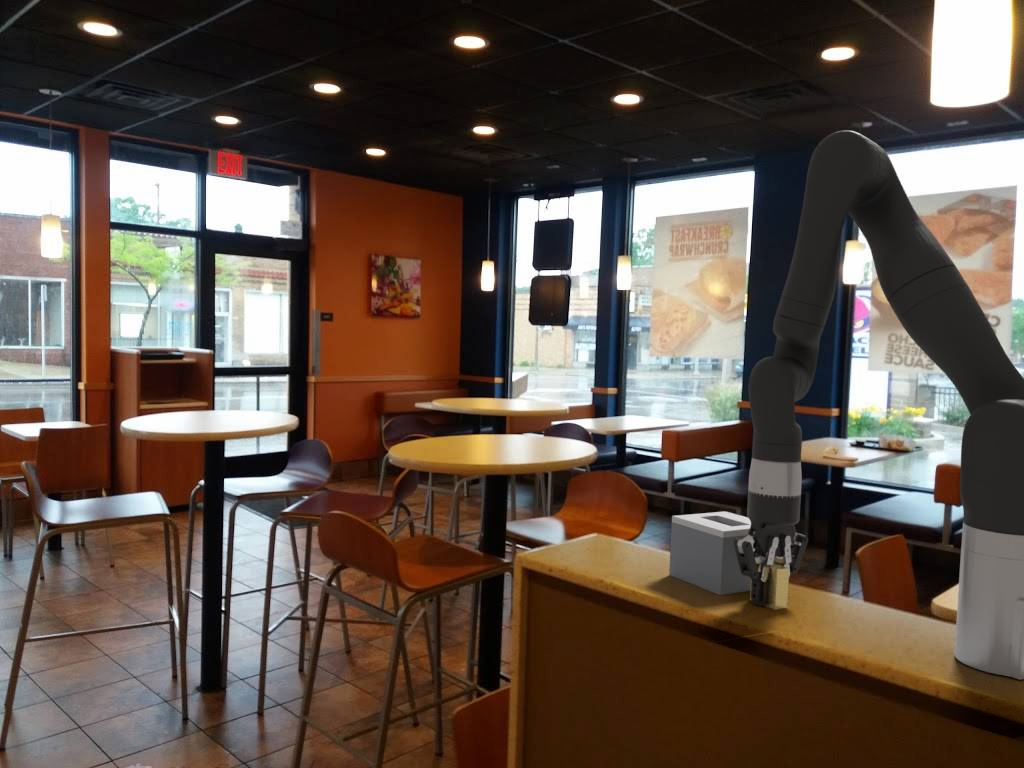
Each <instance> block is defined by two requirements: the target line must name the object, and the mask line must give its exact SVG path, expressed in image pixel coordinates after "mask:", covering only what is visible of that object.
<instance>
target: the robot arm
mask: <svg viewBox="0 0 1024 768" xmlns="http://www.w3.org/2000/svg"><path fill="white" fill-rule="evenodd" d="M895 169H896V168H895V167H894V165H893V163H892V160H891V159H890V157H889V155H888V154H887V152H886V151H885V149H884V148H883V147H881V145H878V143H876V142H874V141H873V140H871V139H870V138H868V137H866V136H865V135H863V134H862V133H859V132H856V131H854V130H839V131H836V132H832V133H831V134H829V135H827V136H826V137H824V138H823V139H822V140H821V141H820V142H819V143H818V144H817V146H816V147H815V148H814V150H813V152H812V154H811V158H810V160H809V165H808V170H807V176H806V181H805V188H804V189H805V190H804V197H803V203H802V208H801V209H802V210H801V215H800V219H799V225H798V232H797V237H796V241H795V246H794V251H793V254H792V255H793V256H792V259H791V263H790V266H789V270H788V274H787V278H786V281H785V285H784V288H783V290H782V293H781V296H780V300H779V302H778V307H777V309H776V312H775V313H776V314H775V316H774V319H773V325H772V331H773V334H774V335H775V336H776V341H775V345H774V351H773V355H772V356H767V357H764V358H761V360H759V361H757V362H756V364H754V366H753V368H752V369H751V373H750V374H749V375H750V376H749V378H748V379H749V380H748V399H749V406H750V416H751V421H752V426H753V435H752V450H751V463H750V468H749V474H748V493H747V510H746V512H747V513H746V515H747V516H746V517H748V518H749V519H750V521H751V526H750V529H749V531H748V536H746V537H745V538H743V539H742V540H741V539H735V540H734V547H735V551H736V555H737V559H738V563H739V567H740V570H741V574H743V575H745V576H748V577H750V578H751V580H752V582H751V600H752V601H751V600H750V601H751V602H752V603H753V604H754V605H757V606H759V607H766V606H765V605H766V599H767V582H766V580H767V577H768V572H769V568H770V567H771V566H772V565H773V563H775V564H778V565H781V566H785V567H788V568H789V578H790V577H791V575H792V574H797V573H798V572H799V570H800V567H801V563H802V560H803V557H804V554H805V551H806V549H807V546H808V542H809V537H808V535H804V534H802V533H799V532H797V531H796V527H795V525H797V524H798V523H799V522H800V517H801V501H802V500H801V499H802V498H801V497H802V483H803V482H802V479H803V477H802V462H801V461H802V447H803V431H802V427H801V425H800V424H798V423H797V422H796V410H795V409H796V408H795V407H796V406H795V403H796V402H798V401H799V400H802V399H803V398H804V397H805V396H806V394H808V392H809V390H810V388H811V387H812V384H813V381H814V378H815V374H816V369H817V363H818V357H819V350H820V339H821V336H822V334H823V331H824V329H825V325H826V323H827V320H828V317H829V314H830V311H831V310H830V309H831V306H832V303H833V301H834V297H835V293H836V288H837V287H836V286H837V281H838V280H837V279H838V266H839V265H838V264H839V251H840V245H841V244H840V243H841V237H842V234H843V228H844V225H845V222H846V219H847V217H848V215H849V216H850V218H851V219H852V221H853V222H854V223H855V225H856V226H857V228H858V229H859V231H860V232H861V233H862V235H863V237H864V238H865V240H866V242H867V244H868V246H869V249H870V253H871V256H872V259H873V265H874V268H875V273H876V276H877V279H878V283H879V286H880V288H881V290H882V293H883V295H884V297H885V299H886V301H887V303H888V305H889V306H890V307H891V309H892V310H893V312H894V314H895V316H896V317H897V318H896V319H898V321H899V322H900V324H901V325H902V327H903V328H904V330H905V332H906V333H907V334H908V336H909V337H910V338H911V339H912V340H913V342H914V343H915V344H916V345H917V346H918V347H919V349H921V351H922V352H923V353H924V354H925V355H926V356H927V357H928V358H929V359H930V360H931V361H932V362H933V363H934V364H935V365H936V366H937V367H938V368H939V369H940V371H942V372H943V374H944V375H945V376H947V378H948V379H949V381H951V383H952V384H953V386H954V387H955V389H956V391H957V392H958V394H959V395H960V397H961V399H962V401H963V403H964V405H965V407H966V409H967V410H968V413H969V414H970V415H969V417H968V418H967V420H966V421H965V424H964V427H963V431H962V436H961V437H962V438H961V447H960V473H959V474H960V476H959V481H960V482H959V495H960V501H961V505H962V511H963V517H962V534H961V547H960V563H959V578H958V590H957V591H958V593H957V605H956V607H957V610H956V621H955V622H956V623H955V625H956V626H955V627H956V628H955V637H954V643H955V644H954V645H955V646H954V657H955V658H956V659H957V660H958V661H959V662H960V663H962V664H964V665H967V666H969V667H971V668H973V669H976V670H979V671H983V672H985V673H990V674H994V675H999V676H1000V675H1001V676H1004V677H1005V676H1006V677H1010V678H1014V679H1017V680H1024V377H1023V375H1022V374H1021V373H1020V372H1019V370H1018V369H1017V368H1016V367H1015V364H1014V363H1013V362H1012V361H1011V359H1010V358H1009V356H1008V355H1007V353H1006V351H1005V349H1004V348H1003V346H1002V344H1001V342H1000V340H999V338H998V336H997V334H996V332H995V330H994V329H993V327H992V325H991V323H990V321H989V320H988V318H987V316H986V314H985V312H984V311H983V309H982V307H981V305H980V304H979V302H978V300H977V299H976V297H975V295H974V293H973V291H972V290H971V288H970V286H969V285H968V283H967V282H966V280H965V278H964V276H962V275H963V274H961V271H960V270H959V268H958V267H957V266H956V264H955V263H954V261H953V260H952V258H951V257H950V256H949V254H948V253H947V252H946V250H945V249H944V248H943V245H941V242H939V240H938V239H937V238H936V236H935V235H934V233H933V232H932V231H931V229H930V228H928V226H927V225H926V223H925V222H924V221H923V220H922V219H921V217H920V215H918V214H917V211H916V210H915V209H914V206H913V205H912V202H911V201H910V199H909V197H908V195H907V193H906V190H905V189H904V187H903V184H902V183H901V180H900V177H899V176H898V174H897V171H896V170H895ZM759 556H761V557H765V559H761V558H760V557H759ZM792 558H793V559H792ZM760 564H761V571H760V572H759V571H758V569H759V565H760ZM748 567H749V568H748Z"/></svg>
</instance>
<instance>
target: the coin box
mask: <svg viewBox="0 0 1024 768" xmlns="http://www.w3.org/2000/svg"><path fill="white" fill-rule="evenodd" d="M750 526H751V521H750V519H749V518H748V516H744V515H740V514H737V513H733V512H730V511H716V512H705V513H702V512H701V513H692V514H678V515H677V514H676V515H672V516H671V531H670V547H669V548H670V549H669V550H670V552H669V570H668V571H669V573H668V575H669V576H671V577H673V578H675V579H678V580H681V581H683V582H686V583H688V584H690V585H692V586H696V587H698V588H701V589H703V590H706V591H708V592H711V593H714V594H716V595H719V596H726V595H730V594H738V593H744V592H750V588H751V578H750V577H748V576H745V575H743V574H741V570H740V567H739V563H738V559H737V555H736V551H735V547H734V540H735V539H741V540H742V539H743V538H745V537H746V536H748V531H749V529H750ZM759 557H760V558H761V559H765V557H761V556H759ZM748 568H749V567H748Z"/></svg>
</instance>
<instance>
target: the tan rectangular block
mask: <svg viewBox="0 0 1024 768" xmlns="http://www.w3.org/2000/svg"><path fill="white" fill-rule="evenodd" d="M758 571H759V572H760V571H761V564H760V565H759V569H758ZM789 580H790V577H789V568H788V567H785V566H781V564H780V565H778V564H775V563H773V565H772V566H771V567H770V568H769V572H768V577H767V580H766V582H767V599H766V605H765V606H764V607H768V608H770V609H773V610H781V609H787V608H788V597H789ZM751 582H752V580H751ZM749 600H750V601H751V602H752V600H751V588H750V591H749Z"/></svg>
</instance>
